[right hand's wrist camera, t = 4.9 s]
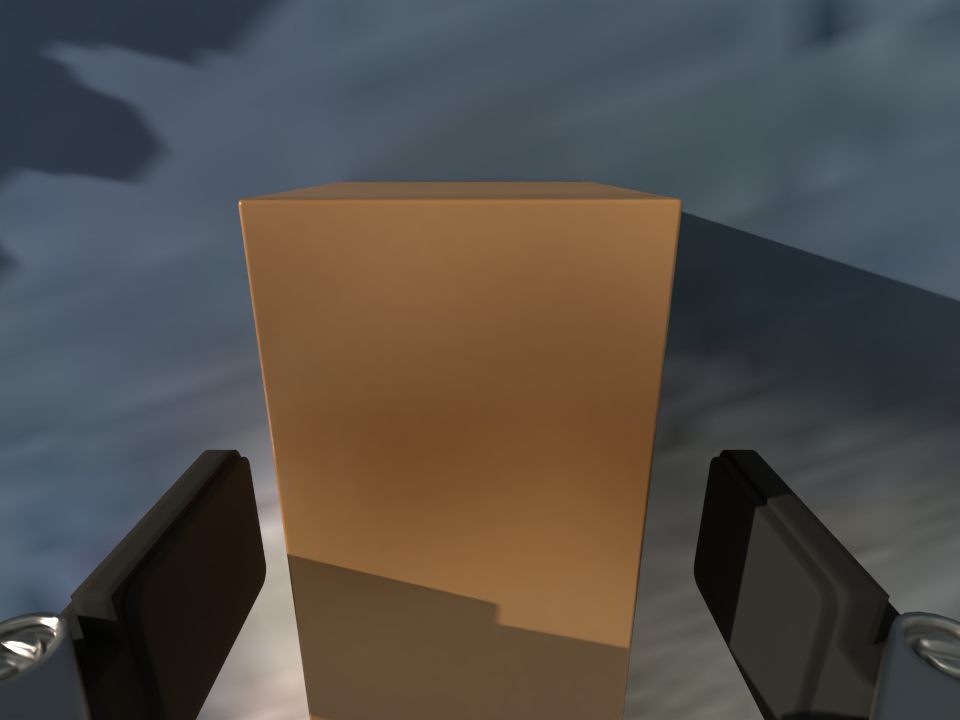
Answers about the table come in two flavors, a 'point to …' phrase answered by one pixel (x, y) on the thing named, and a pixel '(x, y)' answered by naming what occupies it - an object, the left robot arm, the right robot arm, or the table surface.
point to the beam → (463, 437)
